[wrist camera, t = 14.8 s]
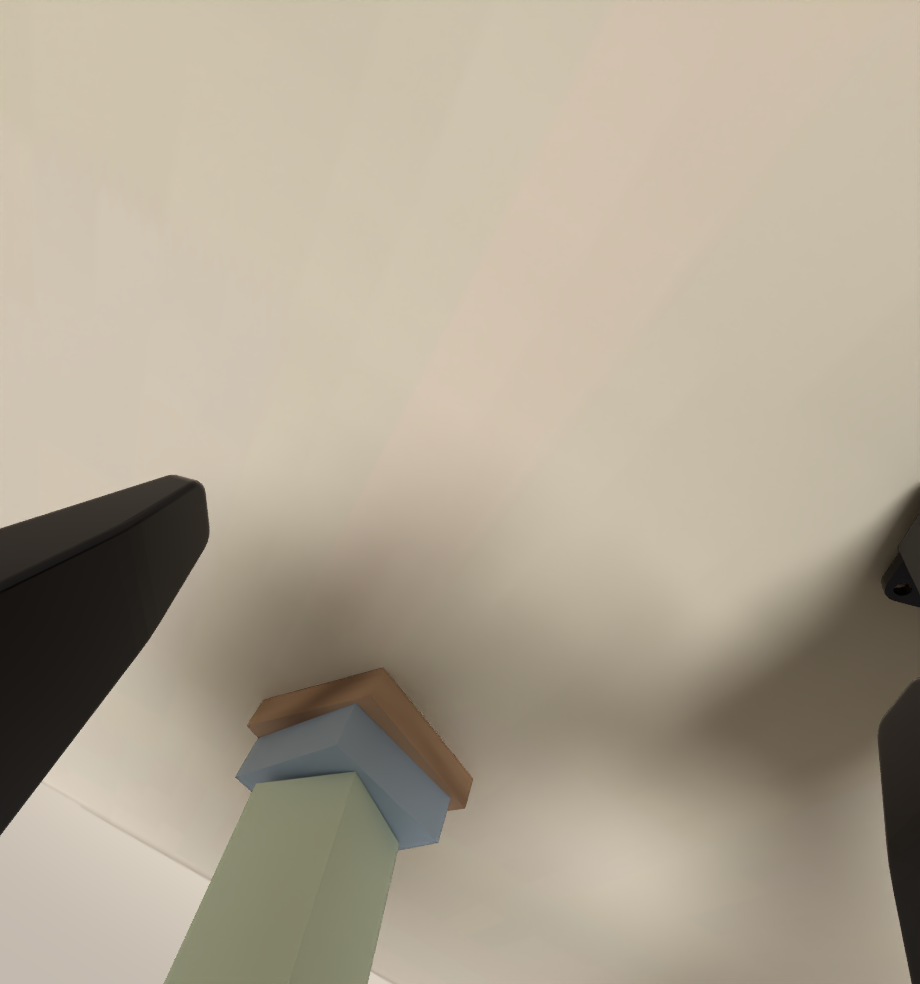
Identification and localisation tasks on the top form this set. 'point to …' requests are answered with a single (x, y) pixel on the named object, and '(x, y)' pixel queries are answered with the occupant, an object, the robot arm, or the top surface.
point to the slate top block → (354, 769)
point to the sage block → (295, 889)
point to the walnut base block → (385, 710)
